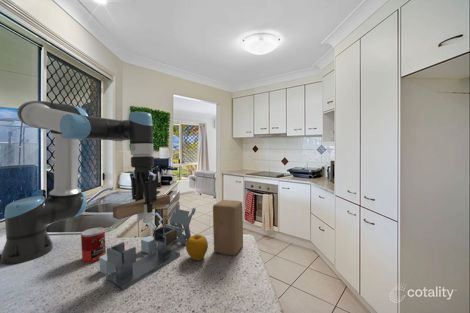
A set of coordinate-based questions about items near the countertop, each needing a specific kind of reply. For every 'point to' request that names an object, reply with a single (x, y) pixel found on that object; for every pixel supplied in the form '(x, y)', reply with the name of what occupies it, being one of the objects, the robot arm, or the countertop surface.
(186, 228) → the bracket
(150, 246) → the rest block
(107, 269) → the rest block
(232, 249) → the wooden block
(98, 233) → the canned food
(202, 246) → the apple
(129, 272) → the bracket
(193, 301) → the countertop surface
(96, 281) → the countertop surface
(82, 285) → the countertop surface
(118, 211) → the rail
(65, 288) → the countertop surface
